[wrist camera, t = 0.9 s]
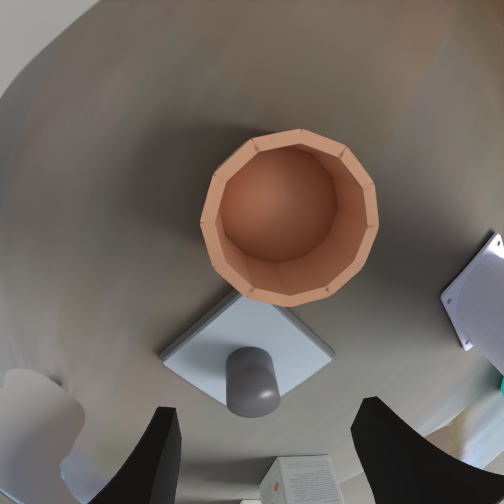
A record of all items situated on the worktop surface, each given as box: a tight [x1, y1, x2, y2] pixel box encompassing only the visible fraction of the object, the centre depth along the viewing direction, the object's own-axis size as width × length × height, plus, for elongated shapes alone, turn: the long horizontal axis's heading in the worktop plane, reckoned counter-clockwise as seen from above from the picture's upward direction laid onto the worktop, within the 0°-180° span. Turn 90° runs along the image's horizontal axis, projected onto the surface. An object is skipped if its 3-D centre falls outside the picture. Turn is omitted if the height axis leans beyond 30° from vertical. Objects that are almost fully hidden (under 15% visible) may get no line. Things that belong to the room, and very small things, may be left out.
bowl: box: [200, 129, 379, 307], centre depth 15 cm, size 8×8×4 cm
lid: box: [163, 293, 332, 418], centre depth 18 cm, size 8×8×4 cm
